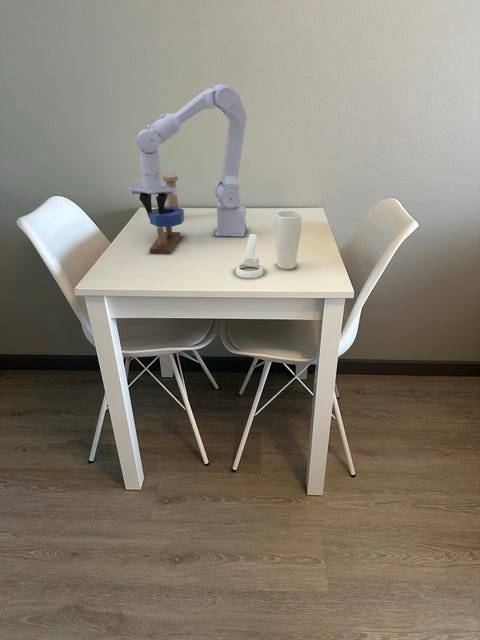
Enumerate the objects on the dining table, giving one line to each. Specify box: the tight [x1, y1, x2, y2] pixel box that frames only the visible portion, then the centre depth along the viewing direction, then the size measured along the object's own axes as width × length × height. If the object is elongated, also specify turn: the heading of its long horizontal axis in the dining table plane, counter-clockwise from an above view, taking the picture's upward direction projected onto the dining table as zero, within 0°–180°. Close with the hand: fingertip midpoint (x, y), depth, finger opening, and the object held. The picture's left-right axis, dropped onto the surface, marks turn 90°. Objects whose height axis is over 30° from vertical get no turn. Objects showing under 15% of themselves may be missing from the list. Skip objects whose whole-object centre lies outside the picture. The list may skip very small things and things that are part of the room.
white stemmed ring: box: [234, 233, 264, 279], centre depth 127 cm, size 8×12×7 cm
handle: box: [162, 172, 179, 208], centre depth 166 cm, size 5×6×15 cm
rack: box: [149, 226, 182, 255], centre depth 144 cm, size 6×15×7 cm, turn 173°
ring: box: [149, 206, 185, 228], centre depth 146 cm, size 10×10×3 cm
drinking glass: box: [275, 209, 302, 270], centre depth 127 cm, size 7×7×15 cm
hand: (155, 217), depth 147 cm, fingers closed on ring, 3 cm apart
